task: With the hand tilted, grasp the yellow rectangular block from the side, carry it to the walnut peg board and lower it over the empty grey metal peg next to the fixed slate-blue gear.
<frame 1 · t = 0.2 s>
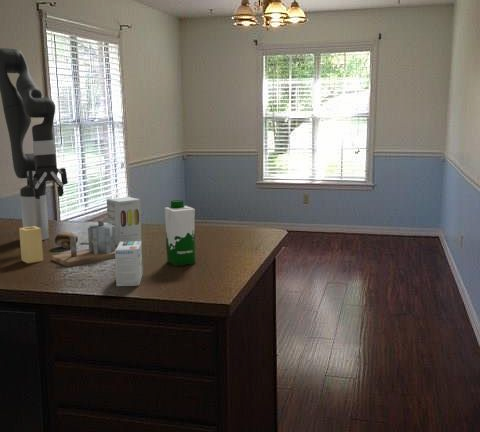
hand: (49, 197, 209), 18 cm above the countertop, fingers open, 8 cm apart
mushroom: (66, 248, 208), on the countertop
milk carton: (181, 263, 185), on the countertop
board: (88, 258, 192), on the countertop
supplement box: (125, 243, 214), on the countertop
light bulb box: (130, 281, 165), on the countertop
yellow rectangular block: (32, 260, 189), on the countertop
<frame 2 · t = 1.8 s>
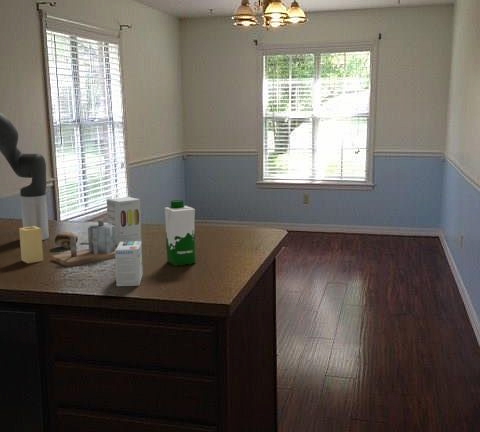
nothing on the countertop moved.
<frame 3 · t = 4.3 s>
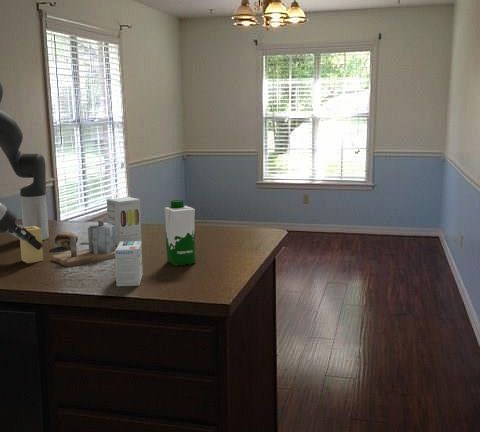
hand: (36, 246, 189), 5 cm above the countertop, fingers closed on yellow rectangular block, 5 cm apart
yellow rectangular block: (32, 260, 189), on the countertop, touching gripper
everything else where it was.
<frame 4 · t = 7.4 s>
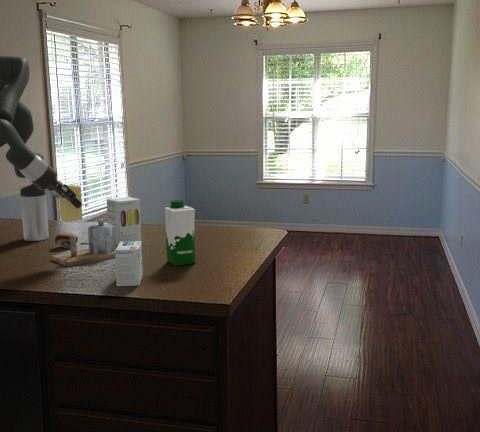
hand: (75, 205, 186), 18 cm above the countertop, fingers closed on yellow rectangular block, 5 cm apart
yellow rectangular block: (71, 219, 186), point 14 cm above the countertop, touching gripper
everything else where it was.
when the fingers open (7 cm above the countertop, at t = 10.3 s): yellow rectangular block drops 1 cm, resting on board.
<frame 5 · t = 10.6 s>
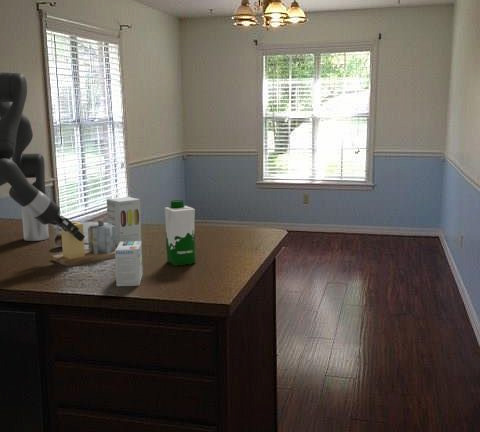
hand: (76, 237, 188), 8 cm above the countertop, fingers open, 8 cm apart
yellow rectangular block: (73, 256, 188), point 1 cm above the countertop, touching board
everything else where it was.
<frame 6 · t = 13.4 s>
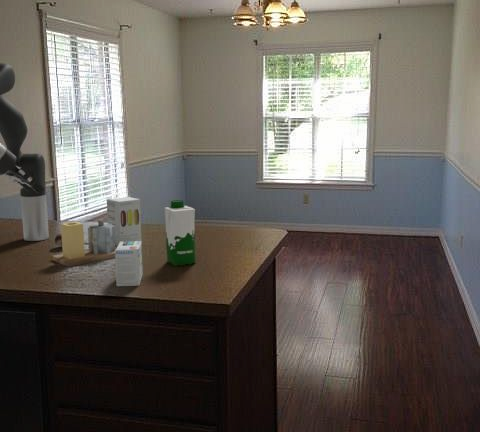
hand: (36, 190, 177), 25 cm above the countertop, fingers open, 8 cm apart
nothing on the countertop moved.
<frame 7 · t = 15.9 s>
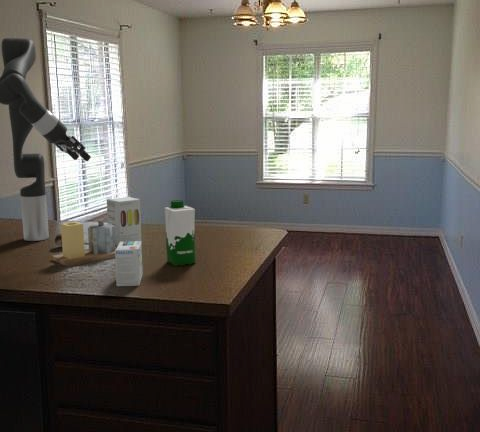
hand: (82, 158, 197), 33 cm above the countertop, fingers open, 8 cm apart
nothing on the countertop moved.
at the end: yellow rectangular block 0.1 cm from the target spot, point 1.5 cm above the countertop; yellow rectangular block tilted 0°; the gripper is holding nothing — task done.
